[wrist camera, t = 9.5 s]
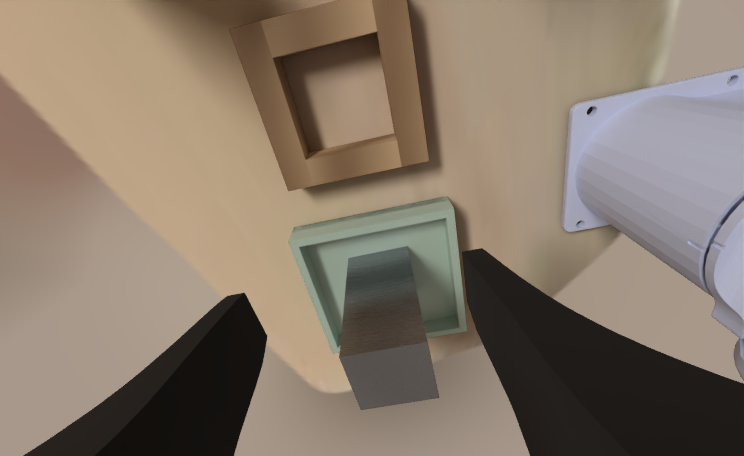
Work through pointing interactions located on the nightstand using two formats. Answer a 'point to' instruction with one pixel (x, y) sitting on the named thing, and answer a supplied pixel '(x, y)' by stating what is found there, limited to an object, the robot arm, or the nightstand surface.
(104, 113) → the nightstand surface
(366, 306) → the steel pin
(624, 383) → the robot arm
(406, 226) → the sage tray
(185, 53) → the nightstand surface
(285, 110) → the oak holder
